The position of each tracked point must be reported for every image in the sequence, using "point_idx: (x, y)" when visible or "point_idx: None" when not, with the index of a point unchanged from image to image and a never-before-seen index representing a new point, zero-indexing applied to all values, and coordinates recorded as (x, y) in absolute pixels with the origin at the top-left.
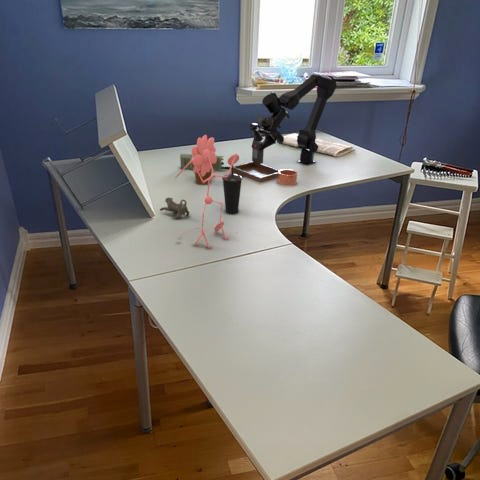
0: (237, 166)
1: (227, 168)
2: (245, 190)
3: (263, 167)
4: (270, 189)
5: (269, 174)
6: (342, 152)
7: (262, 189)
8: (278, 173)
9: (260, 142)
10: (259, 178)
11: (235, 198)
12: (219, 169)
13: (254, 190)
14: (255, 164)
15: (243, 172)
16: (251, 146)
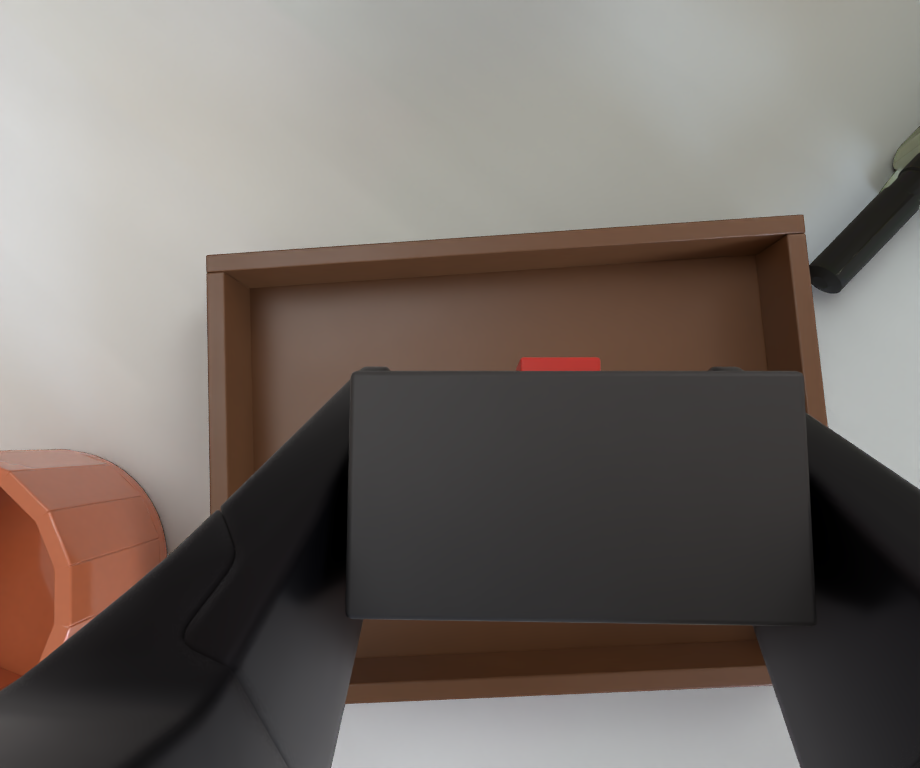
0: (790, 310)
1: (860, 213)
2: (190, 18)
3: (598, 658)
4: (40, 262)
5: None
6: None
7: (96, 188)
8: (63, 499)
9: (471, 527)
10: (228, 257)
11: None
12: (912, 135)
13: (130, 97)
14: None
15: (545, 236)
16: (742, 370)
